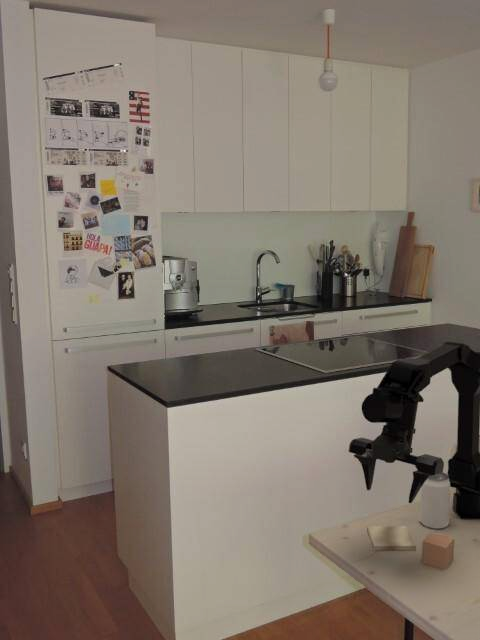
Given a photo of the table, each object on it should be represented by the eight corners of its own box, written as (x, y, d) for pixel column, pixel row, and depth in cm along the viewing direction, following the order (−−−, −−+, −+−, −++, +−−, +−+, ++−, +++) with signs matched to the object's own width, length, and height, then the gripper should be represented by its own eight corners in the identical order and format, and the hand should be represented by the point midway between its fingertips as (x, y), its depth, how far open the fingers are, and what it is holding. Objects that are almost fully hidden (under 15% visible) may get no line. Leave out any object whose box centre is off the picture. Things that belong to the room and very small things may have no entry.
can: (449, 530, 150) (452, 481, 148) (421, 528, 151) (422, 479, 150) (446, 518, 156) (448, 471, 154) (419, 516, 158) (420, 469, 156)
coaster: (405, 530, 151) (406, 526, 150) (415, 550, 142) (415, 546, 142) (367, 530, 151) (367, 526, 151) (374, 550, 142) (374, 546, 142)
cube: (430, 553, 141) (431, 531, 140) (453, 560, 138) (454, 538, 137) (421, 563, 137) (422, 541, 136) (445, 570, 134) (446, 548, 133)
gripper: (342, 414, 133) (331, 489, 133) (431, 435, 122) (418, 517, 123) (365, 411, 142) (354, 481, 142) (449, 431, 131) (438, 507, 132)
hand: (389, 496), depth 135 cm, fingers open, 9 cm apart
